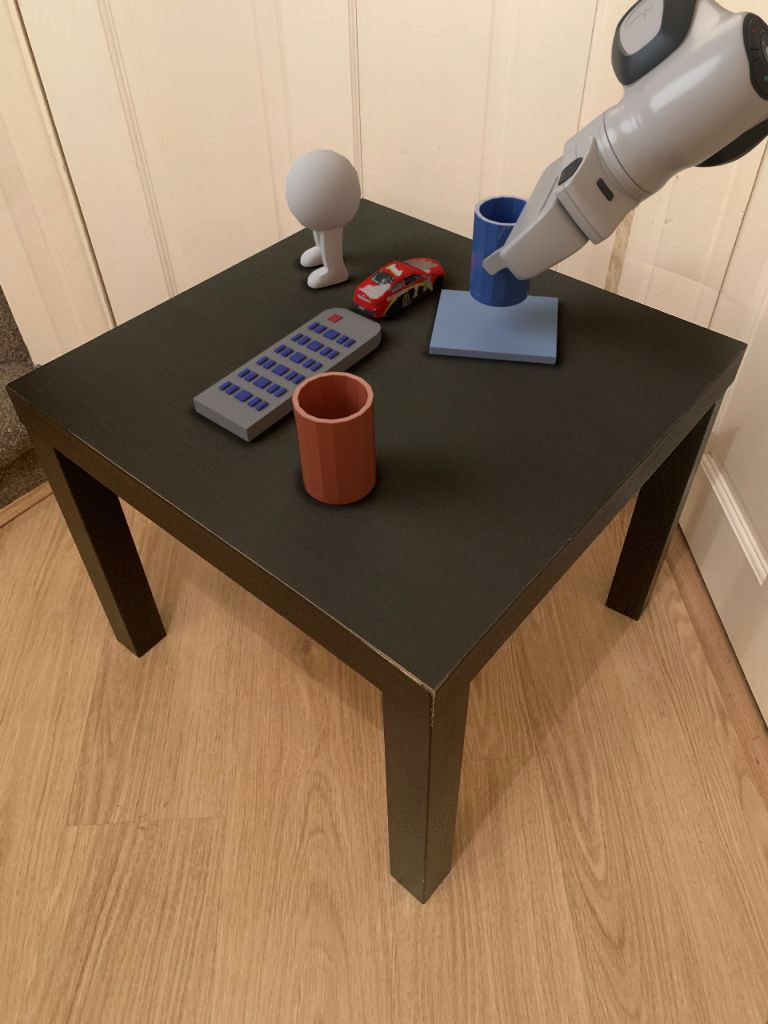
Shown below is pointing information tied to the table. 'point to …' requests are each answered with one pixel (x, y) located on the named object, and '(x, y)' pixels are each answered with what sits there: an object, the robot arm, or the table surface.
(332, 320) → the remote control
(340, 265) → the toy character
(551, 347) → the blue mat
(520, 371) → the table surface
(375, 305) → the race car
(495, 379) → the table surface
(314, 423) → the terracotta cup
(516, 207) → the blue cup
